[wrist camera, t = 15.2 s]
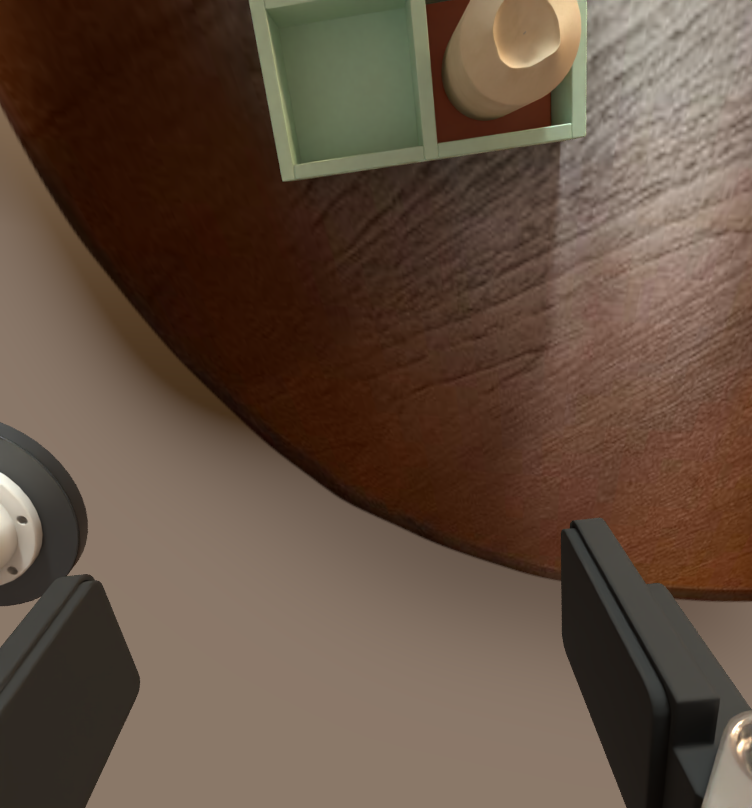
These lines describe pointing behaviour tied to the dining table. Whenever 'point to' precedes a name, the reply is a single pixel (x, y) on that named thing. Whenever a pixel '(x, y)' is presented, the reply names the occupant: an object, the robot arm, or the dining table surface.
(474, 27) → the candle
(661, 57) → the dining table surface
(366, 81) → the grid
